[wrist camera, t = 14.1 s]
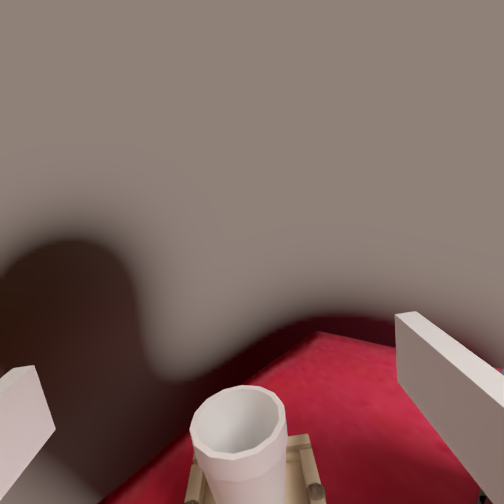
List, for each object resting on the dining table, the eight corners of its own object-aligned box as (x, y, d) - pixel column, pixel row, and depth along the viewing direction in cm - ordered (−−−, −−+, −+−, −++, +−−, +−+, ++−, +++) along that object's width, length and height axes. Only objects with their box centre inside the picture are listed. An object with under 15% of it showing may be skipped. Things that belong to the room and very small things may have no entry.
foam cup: (220, 479, 37) (201, 388, 35) (294, 474, 37) (281, 381, 34) (205, 576, 28) (178, 464, 25) (304, 572, 27) (288, 455, 25)
